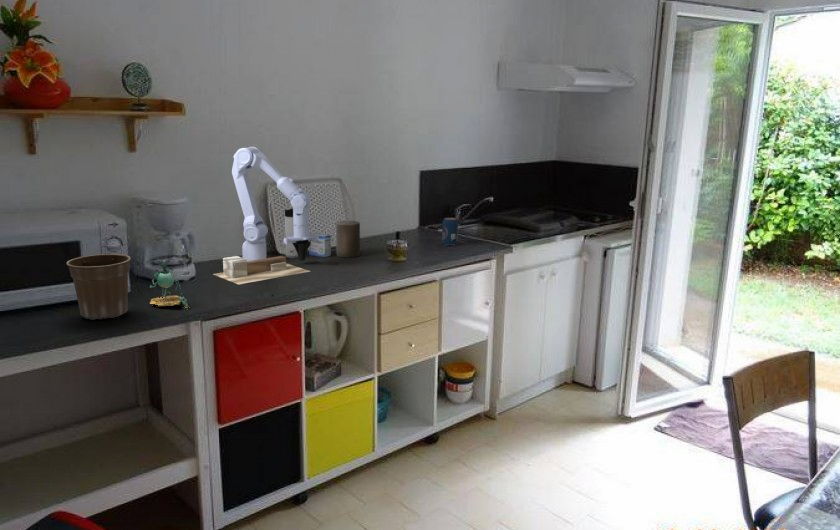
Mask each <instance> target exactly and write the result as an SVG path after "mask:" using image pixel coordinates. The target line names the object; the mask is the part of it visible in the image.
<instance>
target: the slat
mask: <svg viewBox="0 0 840 530" xmlns="http://www.w3.org/2000/svg"><path fill="white" fill-rule="evenodd" d="M282 262H286V263H287V257H286V256H284V255H278V256H273V257H266V258H265V259H259V260H252V261H247V275H248V274H254V273H259V272H265V271H271V264H276V263H282Z"/></svg>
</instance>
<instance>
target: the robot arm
mask: <svg viewBox="0 0 840 530" xmlns="http://www.w3.org/2000/svg"><path fill="white" fill-rule="evenodd" d="M252 167H254V168H257V169H258V168H259V169H261V170H262V171H263V172H264V173H265V174H266V175H268V176H269V177H270V179H272V180H273V181H274V182H275V183H276V188H277V189H278V190H279V191H280V192H281V193H282V194H283V196H285V197H286V199H288V200H289V201H290V206H291V207H292V209H293V226H294V236H291V237H288V238H285V237H284V238H283V244H289V243H293V245H294V247H295V249H296V251H297V254H298V257H297V258H298V261H301V262H302V261H304V262H305V260H306V257H307V254H308V253H307V252H308V251H309V246H310V245H311V242H309V240H315V239H316V240H318V239H319V235H318V234H319V233H316V234H314V233H310V216H309V215H310V213H309V212H310V211H309V205H310V203H311V196H310V194H309V193H308V192H306V191H304V190H303V189H302V188H300V187H299V186H298V185H297V184H295V183H294V181H295V180H294V179H293V178H292V177H291V178H290V177H289V176H283V174H281V172H280V171H279V170H278V169H277V168H276V167H275V166H274V165H273V163H272V161H270V160H269V159H268V158H267V157H266V155H265V154H264V153H263V152H262V151H260V150H259V148H257V147H255V146H249V147H242V148H241V147H240V148H239V149H237V150H236V152H235V153H234V154H233V163H232V167H231V168H232V169H231V176H232V178H233V182H234V185H235V189H236V193H237V196H238V200H239V202H240V207H241V209H242V213H243V216H244V219H243V224H242V225H243V237H244V239H245V240H244V242H243V244H242V246H241V253H242V258H245V259H247V261H252V260H259V259H265V258H267V239H266V236H268V233H269V228H268V226H267V225H266V224H265V222H264V219H263V218H262V216H261V215H260V214H259V212H258V208H257V203H256V201H255V196H254V193H253V190H252V186H251V183H250V179H249V176H248V175H249V172H250V171H251V169H252Z"/></svg>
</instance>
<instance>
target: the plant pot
mask: <svg viewBox="0 0 840 530" xmlns="http://www.w3.org/2000/svg"><path fill="white" fill-rule="evenodd" d="M131 260H132V259H131V256H129V255H127V254H121V253H106V254H105V253H103V254H92V255H85V256H79V257H76V258H72V259H70V260H67V262H66V266H68V269H69V273H70V277H71V279H72V280H73V285H74V291H75V294H76V299H77V302H78V308H79V309H78V310H79V315H80V316H81V315H82V316H85V317H91V318H104V319H108V318H107V317H114V316H118V315H122V314H124V313H126V312H127V311H128V310H129V308H128V307H129V305H128V303H129V302H128V301H129V298H128V297H129V296H128V295H129V294H128V292H129V289H128V288H129V282H128V281H129V279H128V277H129V276H128V275H129V272H130V269H129V268H130V261H131ZM128 312H129V311H128ZM128 312H127V313H128ZM127 313H126V314H127Z"/></svg>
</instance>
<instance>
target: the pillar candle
mask: <svg viewBox="0 0 840 530" xmlns="http://www.w3.org/2000/svg"><path fill="white" fill-rule="evenodd" d="M360 224H361V223H360V221H356V220H339V221H337V222H335V230H336V231H335V232H336V234H335V236H336V237H335V238H336V239H335V240H336V241H335V242H336V256H337V257H339V258H348V259H349V258H358V257H360V256H361V230H360V229H361V225H360Z"/></svg>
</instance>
